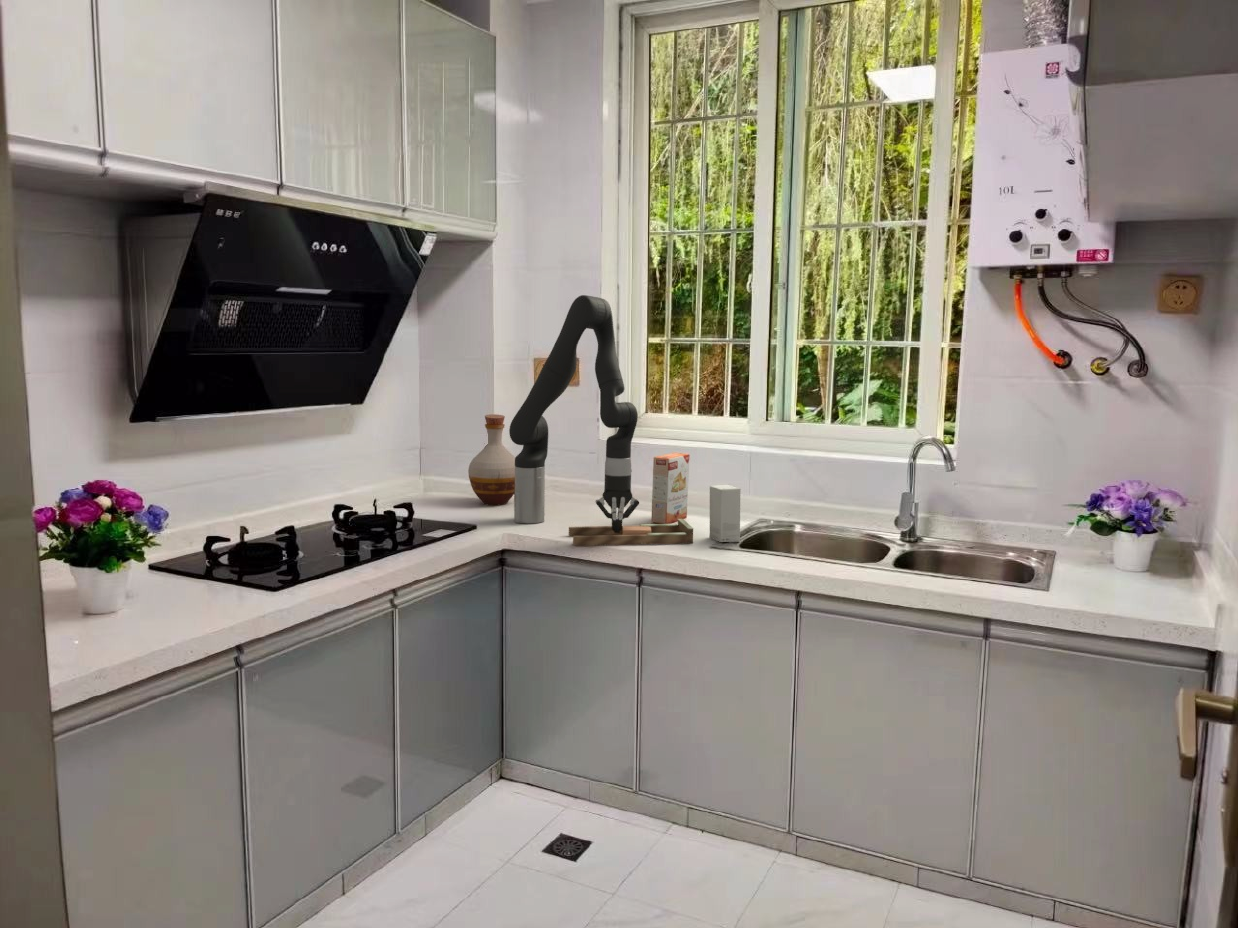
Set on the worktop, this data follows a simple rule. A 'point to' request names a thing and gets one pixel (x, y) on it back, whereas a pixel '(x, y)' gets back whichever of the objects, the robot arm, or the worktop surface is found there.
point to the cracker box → (670, 488)
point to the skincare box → (725, 513)
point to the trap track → (657, 535)
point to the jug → (493, 466)
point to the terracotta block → (636, 530)
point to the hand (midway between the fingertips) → (616, 532)
